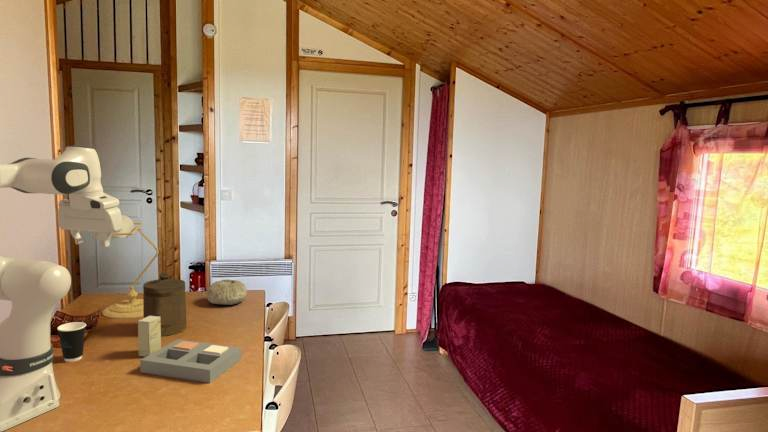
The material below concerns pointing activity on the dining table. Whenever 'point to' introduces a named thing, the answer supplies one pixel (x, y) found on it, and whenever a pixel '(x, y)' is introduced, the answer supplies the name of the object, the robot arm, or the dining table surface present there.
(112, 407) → the dining table surface
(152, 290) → the brown metal canister
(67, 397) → the dining table surface
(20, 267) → the robot arm
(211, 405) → the dining table surface
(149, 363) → the socket plate
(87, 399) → the dining table surface
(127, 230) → the desk lamp
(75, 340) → the dixie cup
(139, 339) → the skincare box
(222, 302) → the decorative shell
